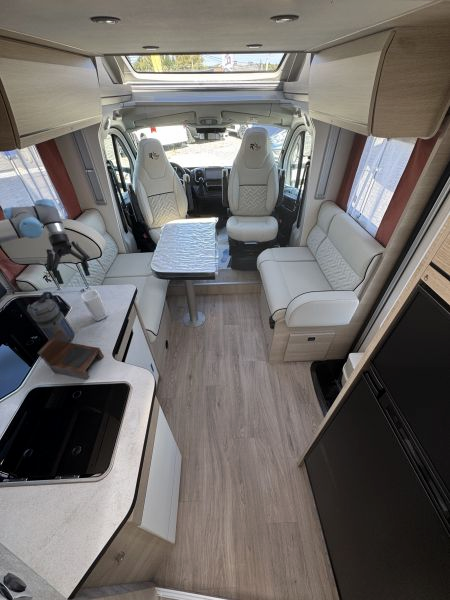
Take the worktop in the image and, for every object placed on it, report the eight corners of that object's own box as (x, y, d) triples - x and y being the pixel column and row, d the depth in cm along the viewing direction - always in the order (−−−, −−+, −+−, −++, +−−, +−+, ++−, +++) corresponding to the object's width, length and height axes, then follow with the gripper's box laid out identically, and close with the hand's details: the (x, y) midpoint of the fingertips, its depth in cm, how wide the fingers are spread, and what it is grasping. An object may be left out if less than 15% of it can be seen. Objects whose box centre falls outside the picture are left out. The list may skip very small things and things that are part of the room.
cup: (91, 316, 132) (79, 294, 122) (104, 309, 135) (94, 288, 125) (96, 324, 128) (84, 302, 118) (110, 317, 131) (100, 295, 121)
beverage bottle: (81, 327, 126) (58, 288, 110) (68, 348, 116) (40, 309, 100) (61, 327, 127) (35, 288, 110) (47, 348, 117) (15, 309, 100)
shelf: (54, 373, 107) (37, 352, 98) (73, 350, 116) (58, 330, 106) (87, 379, 104) (72, 359, 95) (104, 356, 113) (92, 335, 103)
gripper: (87, 228, 118) (103, 271, 121) (38, 243, 119) (55, 286, 123) (77, 225, 110) (95, 272, 113) (25, 242, 112) (44, 288, 115)
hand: (74, 280), depth 118 cm, fingers open, 13 cm apart
